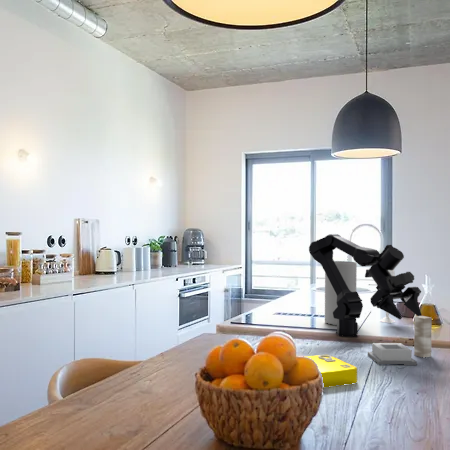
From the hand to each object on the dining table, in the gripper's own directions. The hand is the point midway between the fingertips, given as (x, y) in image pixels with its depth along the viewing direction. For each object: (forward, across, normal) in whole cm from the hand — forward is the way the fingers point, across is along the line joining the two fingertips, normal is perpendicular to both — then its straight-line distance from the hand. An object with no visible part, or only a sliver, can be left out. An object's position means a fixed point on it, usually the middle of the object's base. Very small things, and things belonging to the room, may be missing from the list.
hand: (410, 317), depth 161 cm
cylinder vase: (-25, +14, +40) cm, 49 cm away
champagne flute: (-20, +34, +36) cm, 54 cm away
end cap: (+10, -12, +6) cm, 17 cm away
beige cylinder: (+11, 0, +5) cm, 12 cm away
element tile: (+13, -43, +4) cm, 45 cm away
